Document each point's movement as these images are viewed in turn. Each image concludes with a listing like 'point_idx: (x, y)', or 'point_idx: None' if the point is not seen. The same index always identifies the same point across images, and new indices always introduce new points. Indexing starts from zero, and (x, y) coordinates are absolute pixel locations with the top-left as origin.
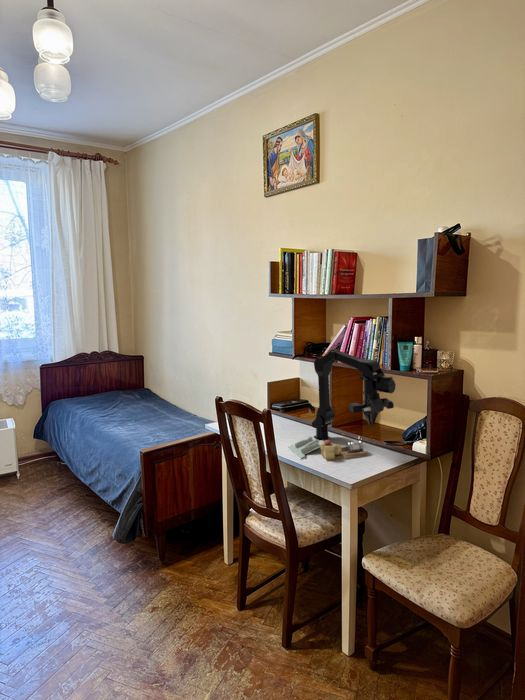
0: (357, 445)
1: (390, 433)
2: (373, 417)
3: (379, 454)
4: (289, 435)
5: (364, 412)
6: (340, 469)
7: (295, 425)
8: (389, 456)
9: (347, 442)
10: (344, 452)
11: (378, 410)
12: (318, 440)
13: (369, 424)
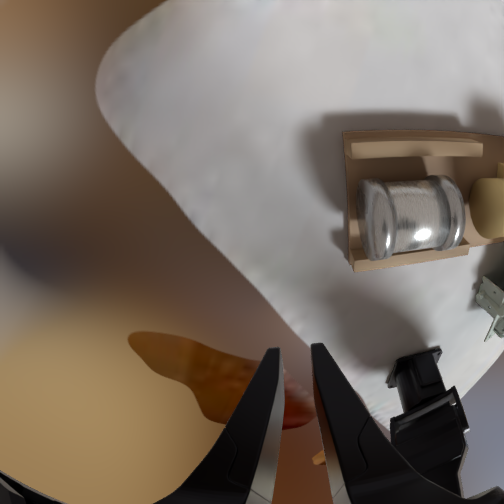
0: (412, 198)
1: (150, 364)
2: (268, 439)
3: (253, 151)
4: (466, 379)
5: (502, 494)
6: (498, 46)
7: None
8: (198, 109)
9: (460, 238)
10: None
11: None
12: (498, 312)
13: (327, 353)
